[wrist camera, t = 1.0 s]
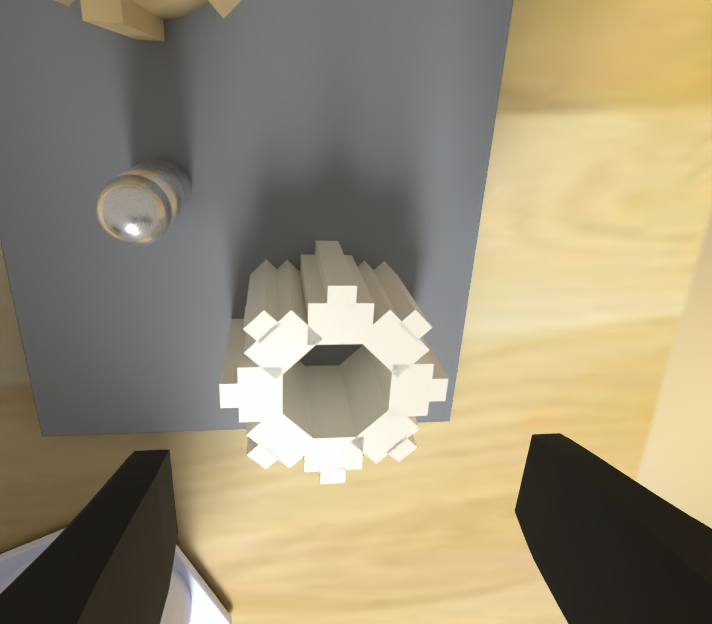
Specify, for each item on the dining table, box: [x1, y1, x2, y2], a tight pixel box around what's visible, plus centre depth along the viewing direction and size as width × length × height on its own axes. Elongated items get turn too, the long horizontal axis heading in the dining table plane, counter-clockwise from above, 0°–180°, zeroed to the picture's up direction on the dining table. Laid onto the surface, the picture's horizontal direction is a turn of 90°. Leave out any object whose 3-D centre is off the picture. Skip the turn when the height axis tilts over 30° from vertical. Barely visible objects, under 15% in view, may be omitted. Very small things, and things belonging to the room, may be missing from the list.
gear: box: [219, 241, 449, 484], centre depth 15 cm, size 6×6×4 cm
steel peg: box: [95, 157, 192, 246], centre depth 13 cm, size 2×2×4 cm
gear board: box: [0, 0, 513, 436], centre depth 13 cm, size 20×14×6 cm
